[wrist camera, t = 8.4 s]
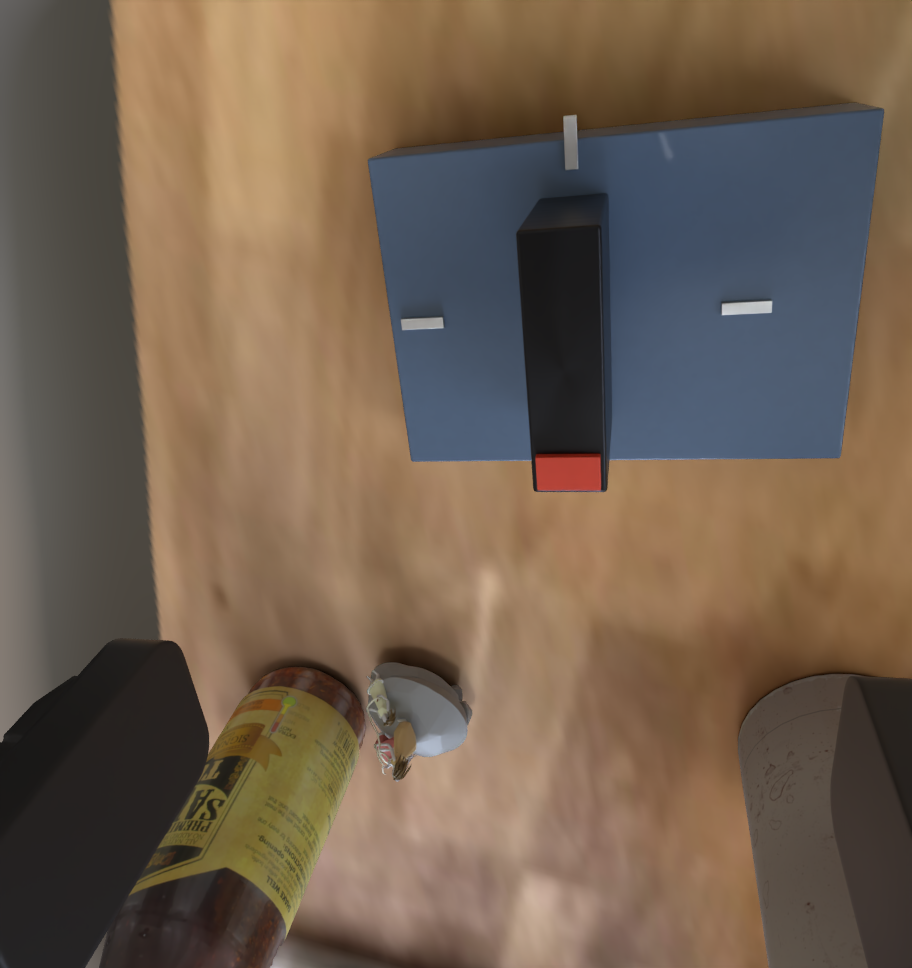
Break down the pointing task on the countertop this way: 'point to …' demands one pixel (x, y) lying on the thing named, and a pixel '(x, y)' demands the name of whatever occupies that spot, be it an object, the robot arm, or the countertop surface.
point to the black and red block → (567, 341)
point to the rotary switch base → (641, 280)
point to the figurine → (414, 715)
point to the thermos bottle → (798, 825)
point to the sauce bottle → (245, 831)
